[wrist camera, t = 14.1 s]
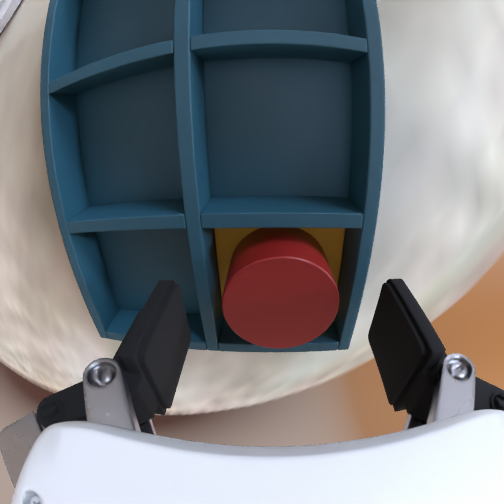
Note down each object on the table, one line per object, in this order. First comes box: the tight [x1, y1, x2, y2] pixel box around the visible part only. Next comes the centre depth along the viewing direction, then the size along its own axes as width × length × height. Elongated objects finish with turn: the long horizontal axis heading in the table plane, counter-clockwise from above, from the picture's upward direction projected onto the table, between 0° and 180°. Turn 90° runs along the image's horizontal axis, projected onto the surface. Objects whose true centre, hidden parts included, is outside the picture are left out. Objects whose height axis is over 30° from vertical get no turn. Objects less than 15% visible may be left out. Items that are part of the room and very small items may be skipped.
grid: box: [41, 0, 385, 352], centre depth 10 cm, size 14×20×3 cm
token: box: [222, 228, 339, 348], centre depth 12 cm, size 5×5×3 cm
